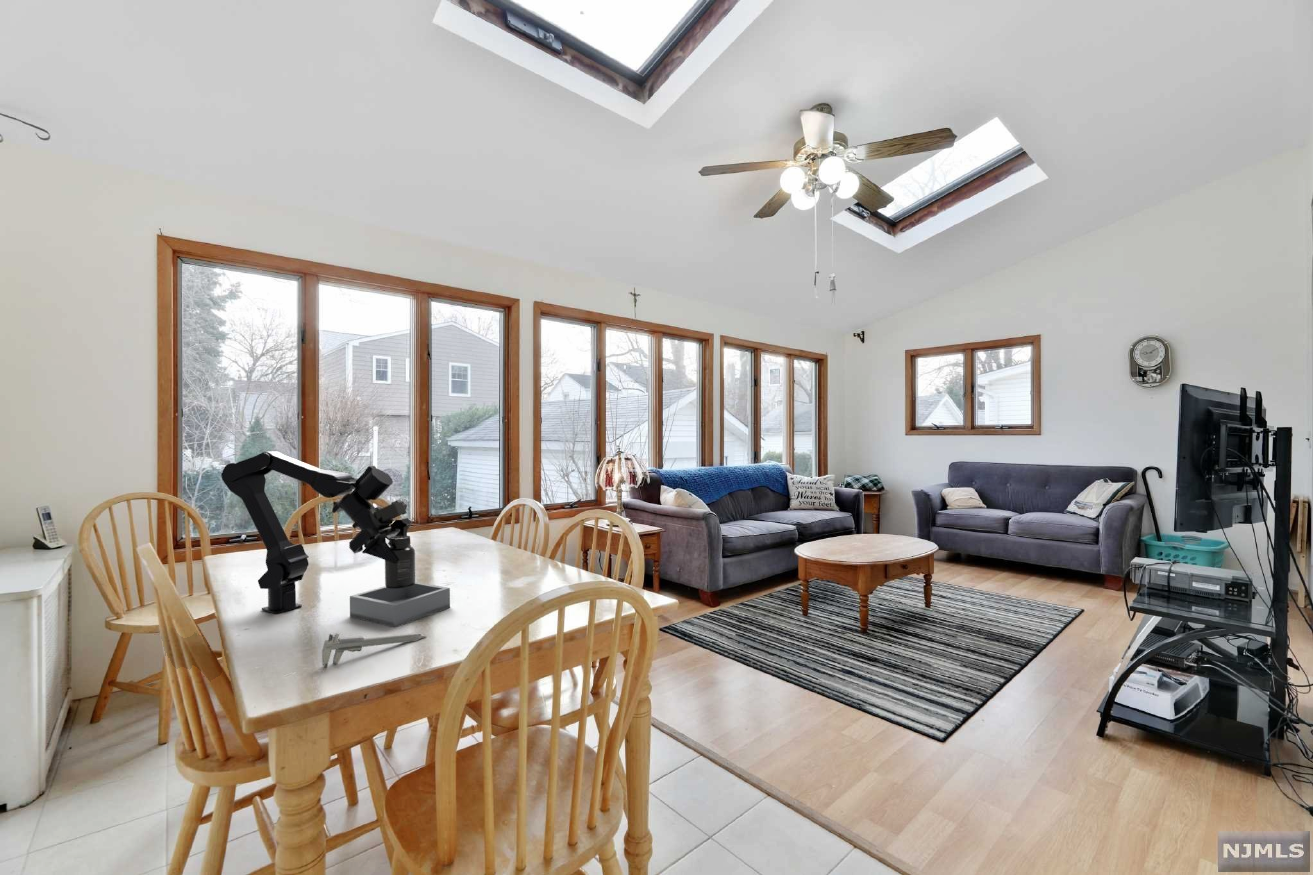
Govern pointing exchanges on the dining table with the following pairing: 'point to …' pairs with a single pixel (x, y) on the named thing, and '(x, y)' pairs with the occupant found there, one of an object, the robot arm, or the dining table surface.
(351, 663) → the dining table surface
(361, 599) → the bin
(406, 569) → the supplement bottle
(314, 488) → the robot arm
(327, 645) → the caliper
